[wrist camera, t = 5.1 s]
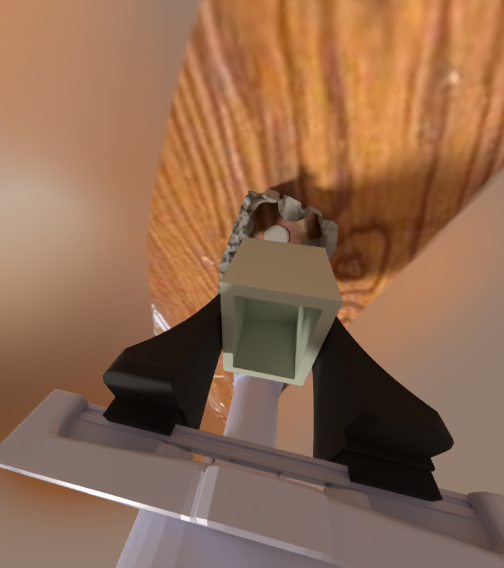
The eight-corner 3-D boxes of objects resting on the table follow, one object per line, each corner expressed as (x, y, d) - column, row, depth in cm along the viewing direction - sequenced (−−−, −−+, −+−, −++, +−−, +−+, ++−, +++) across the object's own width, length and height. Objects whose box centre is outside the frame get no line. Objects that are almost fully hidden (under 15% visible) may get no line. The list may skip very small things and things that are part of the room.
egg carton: (256, 174, 14) (245, 181, 11) (341, 217, 15) (356, 236, 12) (218, 277, 20) (204, 302, 17) (279, 304, 21) (277, 333, 18)
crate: (299, 325, 15) (302, 386, 11) (240, 314, 16) (223, 370, 12) (325, 247, 11) (343, 301, 7) (243, 237, 12) (219, 281, 8)
